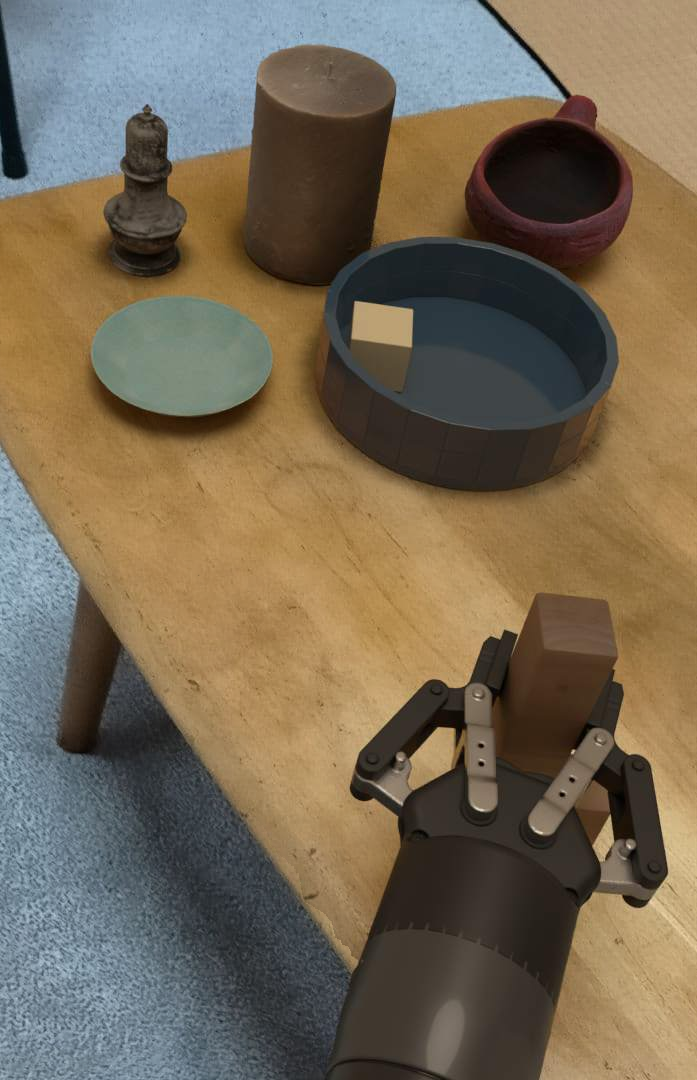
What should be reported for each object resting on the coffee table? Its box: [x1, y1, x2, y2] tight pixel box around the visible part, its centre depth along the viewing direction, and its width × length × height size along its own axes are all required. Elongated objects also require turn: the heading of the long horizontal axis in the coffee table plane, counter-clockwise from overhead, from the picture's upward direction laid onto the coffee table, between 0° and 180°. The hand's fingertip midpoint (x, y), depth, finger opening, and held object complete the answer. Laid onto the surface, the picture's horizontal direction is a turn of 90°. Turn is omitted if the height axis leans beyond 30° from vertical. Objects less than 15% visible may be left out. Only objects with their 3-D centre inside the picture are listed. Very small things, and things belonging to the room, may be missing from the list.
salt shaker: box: [102, 103, 188, 278], centre depth 86 cm, size 6×6×12 cm
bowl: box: [464, 94, 634, 269], centre depth 96 cm, size 16×13×8 cm
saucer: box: [90, 295, 274, 418], centre depth 82 cm, size 12×12×2 cm
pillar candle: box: [243, 43, 397, 286], centre depth 88 cm, size 10×10×15 cm
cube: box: [347, 301, 413, 392], centre depth 83 cm, size 4×4×4 cm
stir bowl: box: [314, 236, 620, 492], centre depth 84 cm, size 20×20×6 cm
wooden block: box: [492, 592, 619, 846], centre depth 57 cm, size 7×3×15 cm, turn 89°
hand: (553, 660), depth 58 cm, fingers closed on wooden block, 4 cm apart
